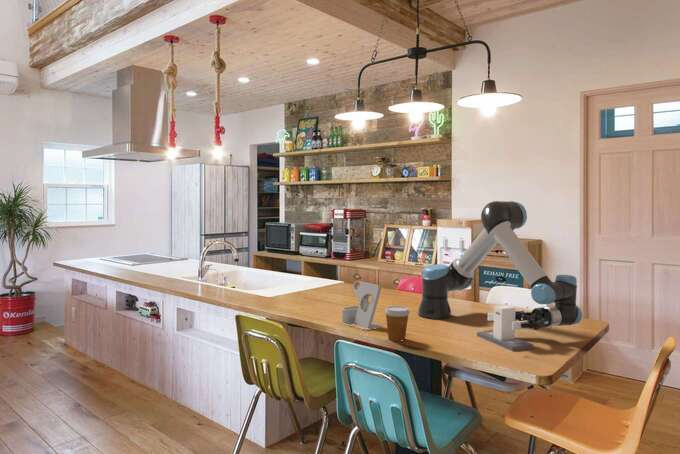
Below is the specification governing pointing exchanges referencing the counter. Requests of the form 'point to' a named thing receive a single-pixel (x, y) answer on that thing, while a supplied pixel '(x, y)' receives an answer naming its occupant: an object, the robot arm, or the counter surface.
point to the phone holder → (363, 306)
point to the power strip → (505, 341)
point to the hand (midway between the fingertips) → (499, 321)
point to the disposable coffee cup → (396, 322)
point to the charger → (503, 322)
